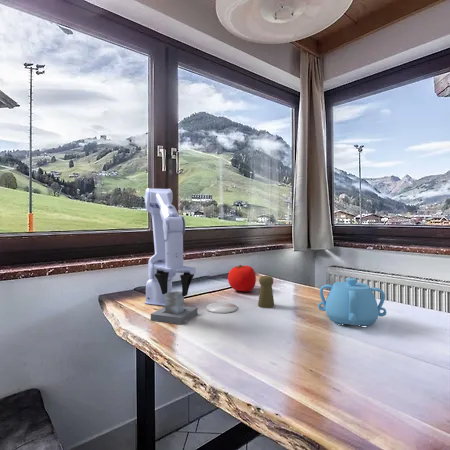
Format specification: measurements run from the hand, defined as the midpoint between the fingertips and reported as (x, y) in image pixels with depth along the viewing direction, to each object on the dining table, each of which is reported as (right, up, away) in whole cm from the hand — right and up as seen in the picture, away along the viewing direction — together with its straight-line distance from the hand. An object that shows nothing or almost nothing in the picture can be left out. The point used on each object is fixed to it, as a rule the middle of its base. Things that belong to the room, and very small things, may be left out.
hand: (174, 294), depth 105 cm
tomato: (+24, -6, +35) cm, 43 cm away
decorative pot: (+56, -8, -4) cm, 57 cm away
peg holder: (0, -7, 0) cm, 7 cm away
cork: (+32, -7, +13) cm, 35 cm away
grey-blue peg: (0, -8, 0) cm, 8 cm away
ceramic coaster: (+15, -7, +9) cm, 19 cm away
